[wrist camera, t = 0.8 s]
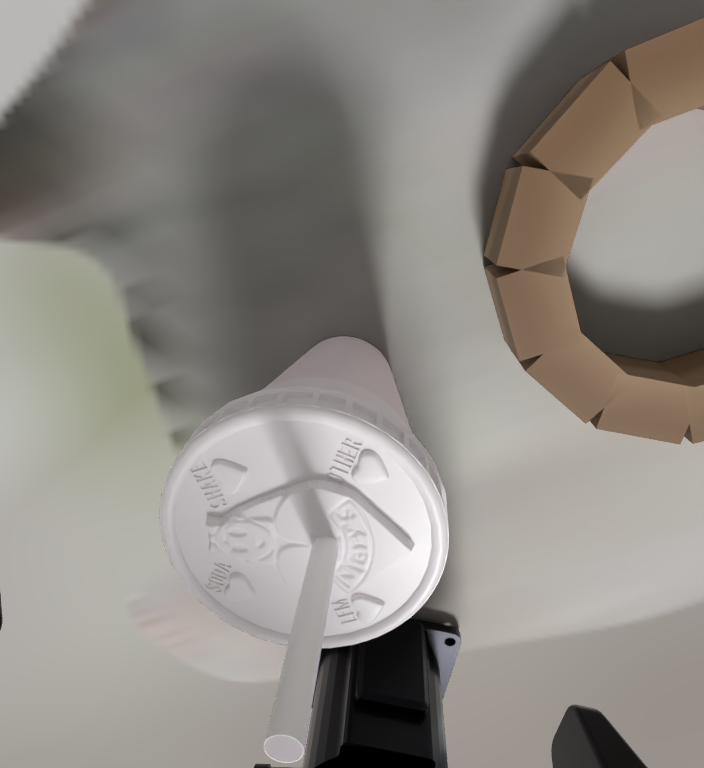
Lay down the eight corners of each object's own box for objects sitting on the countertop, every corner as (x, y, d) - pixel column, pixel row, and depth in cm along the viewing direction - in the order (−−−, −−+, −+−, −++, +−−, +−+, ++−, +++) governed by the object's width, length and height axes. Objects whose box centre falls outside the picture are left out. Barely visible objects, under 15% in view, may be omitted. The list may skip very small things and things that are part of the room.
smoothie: (423, 458, 21) (463, 908, 8) (267, 451, 21) (62, 863, 8) (433, 302, 19) (512, 569, 6) (258, 297, 19) (-43, 533, 6)
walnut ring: (768, 436, 19) (818, 470, 17) (452, 377, 20) (459, 402, 17) (958, 72, 15) (1060, 50, 13) (548, 2, 15) (575, -32, 13)
